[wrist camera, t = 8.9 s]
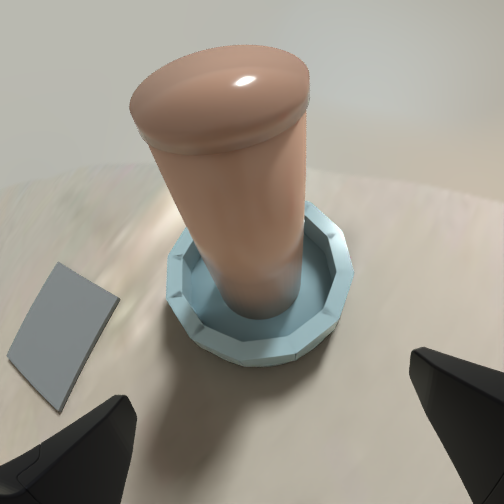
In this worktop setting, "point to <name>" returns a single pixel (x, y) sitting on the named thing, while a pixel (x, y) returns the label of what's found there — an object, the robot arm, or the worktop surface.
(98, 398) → the worktop surface
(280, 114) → the dome-capped peach post
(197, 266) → the bowl
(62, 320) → the mat
